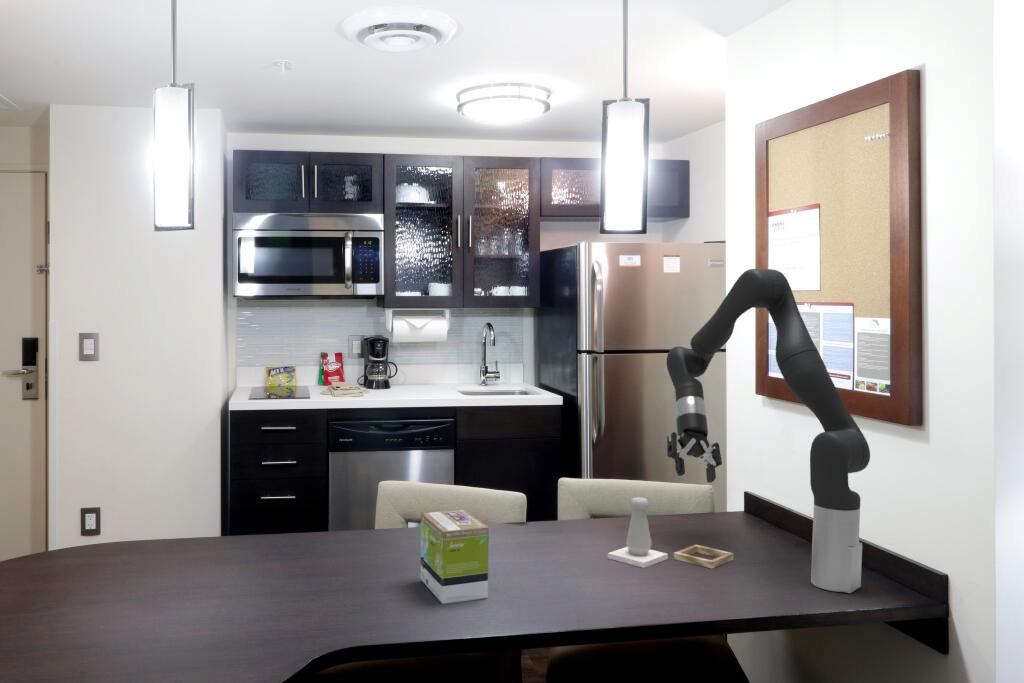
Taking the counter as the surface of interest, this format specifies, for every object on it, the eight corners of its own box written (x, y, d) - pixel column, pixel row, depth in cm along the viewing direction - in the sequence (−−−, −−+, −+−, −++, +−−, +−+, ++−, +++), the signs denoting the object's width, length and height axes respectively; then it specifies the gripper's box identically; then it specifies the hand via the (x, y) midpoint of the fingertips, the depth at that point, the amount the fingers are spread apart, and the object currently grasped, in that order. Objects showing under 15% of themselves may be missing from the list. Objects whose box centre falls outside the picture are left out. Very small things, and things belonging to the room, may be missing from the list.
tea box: (418, 581, 171) (419, 511, 171) (463, 576, 175) (465, 507, 175) (441, 605, 157) (442, 529, 157) (489, 599, 161) (491, 525, 161)
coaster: (667, 558, 191) (667, 553, 191) (643, 568, 184) (643, 562, 183) (632, 549, 198) (632, 544, 198) (607, 558, 190) (607, 553, 190)
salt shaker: (650, 550, 193) (651, 496, 193) (652, 557, 188) (653, 501, 187) (625, 549, 194) (627, 495, 193) (626, 556, 188) (628, 500, 188)
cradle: (733, 559, 191) (733, 553, 191) (712, 568, 184) (712, 562, 184) (695, 550, 198) (695, 544, 198) (673, 559, 191) (673, 552, 191)
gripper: (675, 406, 201) (680, 467, 192) (723, 418, 205) (730, 478, 197) (659, 418, 207) (662, 477, 198) (706, 429, 211) (711, 488, 203)
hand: (696, 478), depth 197 cm, fingers open, 8 cm apart
